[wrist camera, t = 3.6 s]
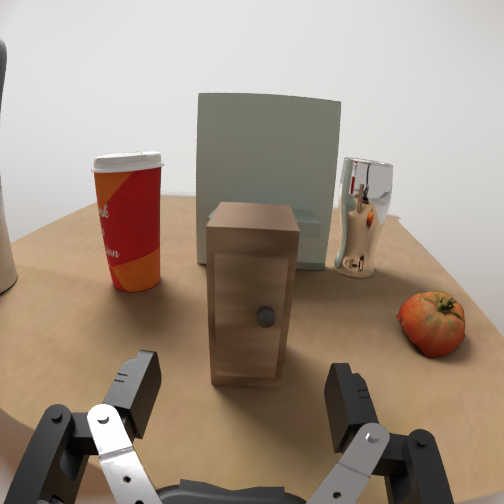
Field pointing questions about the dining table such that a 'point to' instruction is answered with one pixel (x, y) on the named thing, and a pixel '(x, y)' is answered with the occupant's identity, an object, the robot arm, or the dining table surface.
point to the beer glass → (361, 214)
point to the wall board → (269, 162)
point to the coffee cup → (130, 217)
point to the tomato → (433, 322)
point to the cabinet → (250, 291)
